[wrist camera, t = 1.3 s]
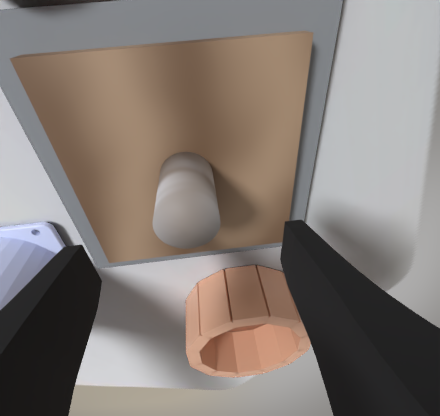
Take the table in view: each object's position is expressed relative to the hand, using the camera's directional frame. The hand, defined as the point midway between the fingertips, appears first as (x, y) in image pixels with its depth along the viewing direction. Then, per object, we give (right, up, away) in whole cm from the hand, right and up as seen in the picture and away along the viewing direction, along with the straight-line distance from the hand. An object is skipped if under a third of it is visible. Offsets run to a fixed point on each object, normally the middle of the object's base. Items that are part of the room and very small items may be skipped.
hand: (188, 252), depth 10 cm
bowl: (+3, -7, +15) cm, 17 cm away
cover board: (-1, +4, +5) cm, 7 cm away
